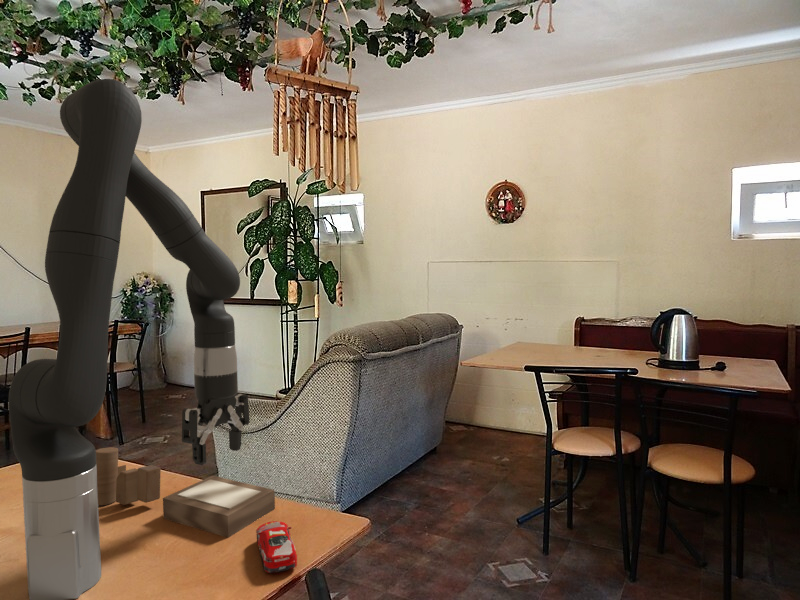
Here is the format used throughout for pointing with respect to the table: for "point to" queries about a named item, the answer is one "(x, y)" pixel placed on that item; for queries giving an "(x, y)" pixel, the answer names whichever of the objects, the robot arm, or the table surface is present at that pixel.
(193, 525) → the picture frame
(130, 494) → the wooden block set
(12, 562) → the table surface
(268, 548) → the race car
